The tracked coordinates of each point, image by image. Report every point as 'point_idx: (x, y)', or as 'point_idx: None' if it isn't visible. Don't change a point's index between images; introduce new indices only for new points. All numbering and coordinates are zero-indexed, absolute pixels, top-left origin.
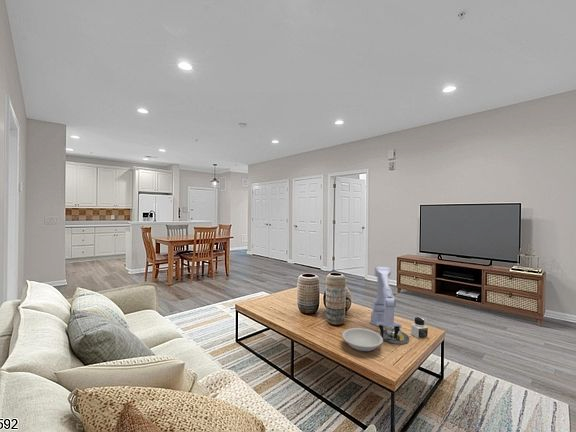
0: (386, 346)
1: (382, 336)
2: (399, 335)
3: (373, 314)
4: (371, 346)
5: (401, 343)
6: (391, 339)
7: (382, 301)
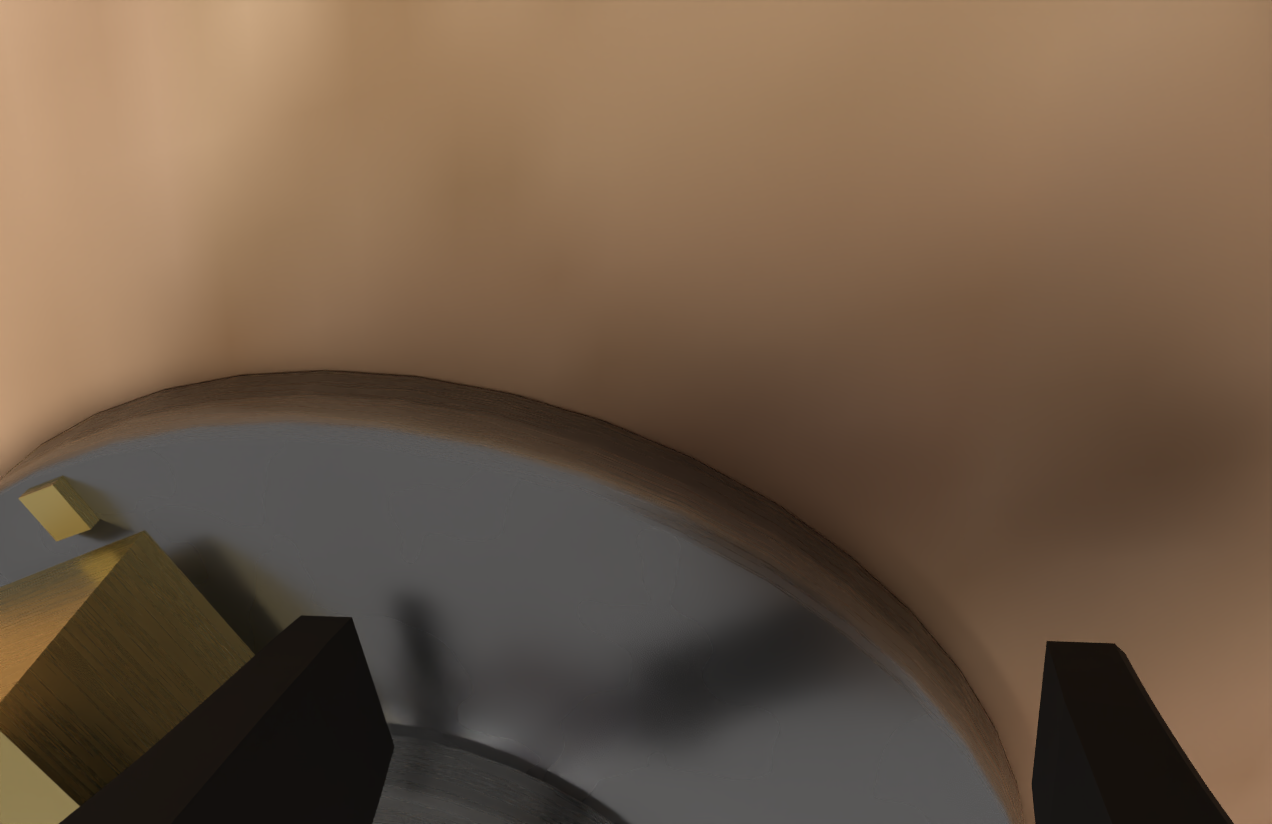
0: (916, 46)
1: (1123, 705)
2: (34, 809)
3: None
4: None
5: (112, 429)
6: (551, 646)
7: None
